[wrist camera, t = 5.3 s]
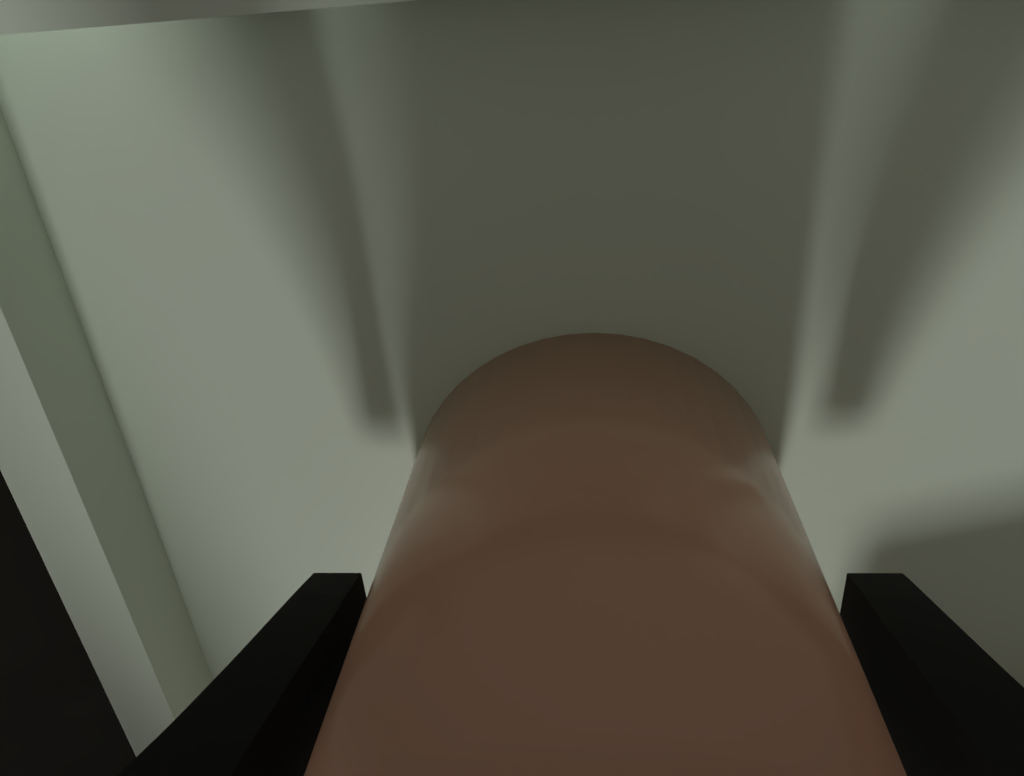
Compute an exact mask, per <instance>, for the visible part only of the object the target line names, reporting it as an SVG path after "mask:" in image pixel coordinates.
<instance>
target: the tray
mask: <svg viewBox="0 0 1024 776" xmlns="http://www.w3.org/2000/svg"><path fill="white" fill-rule="evenodd" d="M583 333H605V334H621V335H626V336H632V337H637V338H643V339H647V340H650V341H654V342H657V343H660V344H663V345H667V346H670V347H672V348H674V349H676V350H679V351H681V352H683V353H685V354H687V355H690V356H692V357H694V358H695V359H697V360H699V361H700V362H702V363H703V364H705V365H707V366H708V367H710V368H711V369H713V370H714V371H716V372H717V373H718V374H719V375H720V376H722V377H723V378H724V379H725V380H726V381H727V382H729V383H730V384H731V385H732V386H733V387H734V388H735V389H736V390H737V391H738V393H739V394H740V395H741V396H742V397H743V398H744V399H745V400H746V402H747V403H748V404H749V406H750V408H751V409H752V411H753V412H754V414H755V415H756V417H757V418H758V420H759V422H760V424H761V426H762V429H763V431H764V433H765V435H766V437H767V440H768V442H769V445H770V447H771V449H772V452H773V454H774V457H775V459H776V461H777V464H778V466H779V469H780V471H781V473H782V476H783V478H784V481H785V483H786V486H787V488H788V490H789V493H790V495H791V498H792V500H793V502H794V505H795V507H796V510H797V512H798V514H799V517H800V519H801V522H802V524H803V526H804V529H805V531H806V534H807V536H808V538H809V541H810V543H811V546H812V548H813V551H814V553H815V555H816V558H817V560H818V563H819V565H820V567H821V570H822V572H823V575H824V577H825V579H826V582H827V584H828V587H829V589H830V591H831V594H832V596H833V599H834V601H835V604H836V606H837V608H838V611H839V613H840V610H841V604H842V599H843V593H844V587H845V582H846V576H847V573H903V574H904V575H905V576H906V577H908V578H909V579H910V580H911V581H912V582H913V583H914V584H915V585H916V586H917V587H918V588H919V589H920V590H921V591H922V592H923V593H924V594H926V595H927V596H928V597H929V598H930V599H931V600H932V601H933V602H934V603H935V604H936V605H937V606H938V607H939V608H940V609H941V610H942V611H943V612H944V613H945V614H946V615H947V616H949V617H950V618H951V619H952V620H953V621H954V622H955V623H956V624H957V625H958V626H959V627H960V628H961V629H962V630H963V631H964V632H965V633H966V634H967V635H968V636H970V637H971V638H972V639H973V640H974V641H975V642H976V643H977V644H978V645H979V646H980V647H981V648H982V649H983V650H984V651H985V652H986V653H987V654H989V655H990V656H991V657H992V658H993V659H994V660H995V661H996V662H997V663H998V664H999V665H1000V666H1001V667H1002V668H1003V669H1004V670H1005V671H1007V672H1008V673H1009V674H1010V675H1011V676H1012V677H1013V678H1014V679H1015V680H1016V681H1017V682H1018V683H1019V684H1021V685H1022V686H1023V687H1024V0H0V471H1V473H2V475H3V477H4V479H5V481H6V483H7V485H8V488H9V490H10V492H11V494H12V496H13V498H14V500H15V502H16V504H17V507H18V509H19V511H20V513H21V515H22V517H23V519H24V521H25V523H26V526H27V528H28V530H29V532H30V534H31V536H32V538H33V540H34V542H35V545H36V547H37V549H38V551H39V553H40V555H41V557H42V559H43V561H44V564H45V566H46V568H47V570H48V572H49V574H50V576H51V578H52V580H53V583H54V585H55V587H56V589H57V591H58V593H59V595H60V597H61V599H62V602H63V604H64V606H65V608H66V610H67V612H68V614H69V616H70V618H71V621H72V623H73V625H74V627H75V629H76V631H77V633H78V635H79V637H80V640H81V642H82V644H83V646H84V648H85V650H86V652H87V654H88V656H89V659H90V661H91V663H92V665H93V667H94V669H95V671H96V673H97V675H98V677H99V680H100V682H101V684H102V686H103V688H104V690H105V692H106V694H107V696H108V699H109V701H110V703H111V705H112V707H113V709H114V711H115V713H116V715H117V718H118V720H119V722H120V724H121V726H122V728H123V730H124V732H125V734H126V737H127V739H128V741H129V743H130V745H131V747H132V749H133V751H134V753H135V756H136V757H137V756H138V755H139V754H140V753H141V752H142V751H143V750H144V749H145V748H146V747H147V746H148V745H149V744H150V743H152V742H153V741H154V740H155V739H156V738H157V737H158V736H159V735H160V734H161V733H162V732H163V731H164V730H165V729H166V728H167V727H168V726H169V725H170V724H171V723H172V722H173V721H174V720H175V719H176V718H177V717H178V716H179V715H180V714H181V713H182V712H183V711H184V710H185V709H186V708H187V707H188V706H189V705H190V704H191V703H192V702H193V700H194V699H195V698H196V697H197V696H198V695H199V694H200V693H201V692H202V691H203V690H204V689H205V688H206V687H207V686H208V685H209V684H210V683H211V682H212V681H213V680H214V679H215V678H216V677H217V676H218V675H219V673H220V672H221V671H222V670H223V669H224V668H225V667H226V666H227V665H228V664H229V663H230V662H231V661H232V660H233V659H234V658H235V657H236V656H237V654H238V653H239V652H240V651H241V650H242V649H243V648H244V647H245V646H246V645H247V644H248V643H249V642H250V641H251V639H252V638H253V637H254V636H255V635H256V634H257V633H258V632H259V631H260V630H261V629H262V628H263V626H264V625H265V624H266V623H267V622H268V621H269V620H270V619H271V618H272V617H273V616H274V614H275V613H276V612H277V611H278V610H279V609H280V608H281V607H282V606H283V605H284V604H285V603H286V601H287V600H288V599H289V598H290V597H291V596H292V595H293V594H294V593H295V592H296V591H297V590H298V589H299V588H300V587H301V586H302V585H303V583H304V582H305V581H306V580H307V579H308V578H309V577H310V576H311V575H312V574H313V573H361V574H362V579H363V583H364V588H365V592H366V597H367V596H368V593H369V590H370V587H371V585H372V582H373V579H374V576H375V573H376V571H377V568H378V565H379V562H380V559H381V556H382V554H383V551H384V548H385V545H386V542H387V539H388V537H389V534H390V531H391V528H392V525H393V523H394V520H395V517H396V514H397V511H398V508H399V506H400V503H401V500H402V497H403V494H404V491H405V489H406V486H407V483H408V480H409V477H410V474H411V472H412V469H413V466H414V463H415V460H416V458H417V455H418V452H419V449H420V446H421V443H422V441H423V438H424V435H425V433H426V431H427V429H428V426H429V424H430V422H431V420H432V418H433V416H434V415H435V413H436V412H437V410H438V409H439V407H440V406H441V404H442V403H443V401H444V400H445V399H446V397H447V396H448V395H449V394H450V393H451V392H452V391H453V390H454V389H455V387H456V386H457V385H458V384H459V383H460V382H462V381H463V380H464V379H465V378H466V377H468V376H469V375H470V374H471V373H472V372H474V371H475V370H476V369H477V368H479V367H481V366H482V365H484V364H485V363H487V362H489V361H490V360H492V359H493V358H495V357H497V356H499V355H501V354H503V353H506V352H508V351H510V350H512V349H514V348H516V347H519V346H522V345H525V344H528V343H532V342H535V341H538V340H541V339H546V338H551V337H556V336H562V335H567V334H583Z"/></svg>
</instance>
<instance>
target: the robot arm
mask: <svg viewBox="0 0 1024 776" xmlns="http://www.w3.org/2000/svg"><path fill="white" fill-rule="evenodd" d="M366 599H367V597H366V592H365V588H364V583H363V579H362V574H361V573H313V574H312V575H311V576H310V577H309V578H308V579H307V580H306V581H305V582H304V583H303V585H302V586H301V587H300V588H299V589H298V590H297V591H296V592H295V593H294V594H293V595H292V596H291V597H290V598H289V599H288V600H287V601H286V603H285V604H284V605H283V606H282V607H281V608H280V609H279V610H278V611H277V612H276V613H275V614H274V616H273V617H272V618H271V619H270V620H269V621H268V622H267V623H266V624H265V625H264V626H263V628H262V629H261V630H260V631H259V632H258V633H257V634H256V635H255V636H254V637H253V638H252V639H251V641H250V642H249V643H248V644H247V645H246V646H245V647H244V648H243V649H242V650H241V651H240V652H239V653H238V654H237V656H236V657H235V658H234V659H233V660H232V661H231V662H230V663H229V664H228V665H227V666H226V667H225V668H224V669H223V670H222V671H221V672H220V673H219V675H218V676H217V677H216V678H215V679H214V680H213V681H212V682H211V683H210V684H209V685H208V686H207V687H206V688H205V689H204V690H203V691H202V692H201V693H200V694H199V695H198V696H197V697H196V698H195V699H194V700H193V702H192V703H191V704H190V705H189V706H188V707H187V708H186V709H185V710H184V711H183V712H182V713H181V714H180V715H179V716H178V717H177V718H176V719H175V720H174V721H173V722H172V723H171V724H170V725H169V726H168V727H167V728H166V729H165V730H164V731H163V732H162V733H161V734H160V735H159V736H158V737H157V738H156V739H155V740H154V741H153V742H152V743H150V744H149V745H148V746H147V747H146V748H145V749H144V750H143V751H142V752H141V753H140V754H139V755H138V756H137V757H136V758H135V759H134V760H133V761H132V762H131V763H130V764H129V765H128V766H127V767H126V768H125V769H123V770H122V771H121V772H120V773H119V774H118V775H117V776H304V774H305V771H306V768H307V765H308V763H309V760H310V757H311V754H312V751H313V748H314V746H315V743H316V740H317V737H318V734H319V731H320V729H321V726H322V723H323V720H324V717H325V715H326V712H327V709H328V706H329V703H330V700H331V698H332V695H333V692H334V689H335V686H336V683H337V681H338V678H339V675H340V672H341V669H342V667H343V664H344V661H345V658H346V655H347V652H348V650H349V647H350V644H351V641H352V638H353V635H354V633H355V630H356V627H357V624H358V621H359V619H360V616H361V613H362V610H363V607H364V604H365V602H366ZM840 616H841V618H842V620H843V623H844V625H845V628H846V630H847V632H848V635H849V637H850V640H851V642H852V644H853V647H854V649H855V652H856V654H857V656H858V659H859V661H860V664H861V666H862V669H863V671H864V673H865V676H866V678H867V681H868V683H869V685H870V688H871V690H872V693H873V695H874V697H875V700H876V702H877V705H878V707H879V709H880V712H881V714H882V717H883V719H884V722H885V724H886V726H887V729H888V731H889V734H890V736H891V738H892V741H893V743H894V746H895V748H896V750H897V753H898V755H899V758H900V760H901V762H902V765H903V767H904V770H905V772H906V774H907V776H1024V687H1023V686H1022V685H1021V684H1019V683H1018V682H1017V681H1016V680H1015V679H1014V678H1013V677H1012V676H1011V675H1010V674H1009V673H1008V672H1007V671H1005V670H1004V669H1003V668H1002V667H1001V666H1000V665H999V664H998V663H997V662H996V661H995V660H994V659H993V658H992V657H991V656H990V655H989V654H987V653H986V652H985V651H984V650H983V649H982V648H981V647H980V646H979V645H978V644H977V643H976V642H975V641H974V640H973V639H972V638H971V637H970V636H968V635H967V634H966V633H965V632H964V631H963V630H962V629H961V628H960V627H959V626H958V625H957V624H956V623H955V622H954V621H953V620H952V619H951V618H950V617H949V616H947V615H946V614H945V613H944V612H943V611H942V610H941V609H940V608H939V607H938V606H937V605H936V604H935V603H934V602H933V601H932V600H931V599H930V598H929V597H928V596H927V595H926V594H924V593H923V592H922V591H921V590H920V589H919V588H918V587H917V586H916V585H915V584H914V583H913V582H912V581H911V580H910V579H909V578H908V577H906V576H905V575H904V574H903V573H847V576H846V582H845V587H844V593H843V599H842V604H841V610H840Z"/></svg>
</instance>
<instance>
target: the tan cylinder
mask: <svg viewBox="0 0 1024 776" xmlns="http://www.w3.org/2000/svg"><path fill="white" fill-rule="evenodd" d="M304 776H907V774H906V772H905V770H904V767H903V765H902V762H901V760H900V758H899V755H898V753H897V750H896V748H895V746H894V743H893V741H892V738H891V736H890V734H889V731H888V729H887V726H886V724H885V722H884V719H883V717H882V714H881V712H880V709H879V707H878V705H877V702H876V700H875V697H874V695H873V693H872V690H871V688H870V685H869V683H868V681H867V678H866V676H865V673H864V671H863V669H862V666H861V664H860V661H859V659H858V656H857V654H856V652H855V649H854V647H853V644H852V642H851V640H850V637H849V635H848V632H847V630H846V628H845V625H844V623H843V620H842V618H841V616H840V613H839V611H838V608H837V606H836V604H835V601H834V599H833V596H832V594H831V591H830V589H829V587H828V584H827V582H826V579H825V577H824V575H823V572H822V570H821V567H820V565H819V563H818V560H817V558H816V555H815V553H814V551H813V548H812V546H811V543H810V541H809V538H808V536H807V534H806V531H805V529H804V526H803V524H802V522H801V519H800V517H799V514H798V512H797V510H796V507H795V505H794V502H793V500H792V498H791V495H790V493H789V490H788V488H787V486H786V483H785V481H784V478H783V476H782V473H781V471H780V469H779V466H778V464H777V461H776V459H775V457H774V454H773V452H772V449H771V447H770V445H769V442H768V440H767V437H766V435H765V433H764V431H763V429H762V426H761V424H760V422H759V420H758V418H757V417H756V415H755V414H754V412H753V411H752V409H751V408H750V406H749V404H748V403H747V402H746V400H745V399H744V398H743V397H742V396H741V395H740V394H739V393H738V391H737V390H736V389H735V388H734V387H733V386H732V385H731V384H730V383H729V382H727V381H726V380H725V379H724V378H723V377H722V376H720V375H719V374H718V373H717V372H716V371H714V370H713V369H711V368H710V367H708V366H707V365H705V364H703V363H702V362H700V361H699V360H697V359H695V358H694V357H692V356H690V355H687V354H685V353H683V352H681V351H679V350H676V349H674V348H672V347H670V346H667V345H663V344H660V343H657V342H654V341H650V340H647V339H643V338H637V337H632V336H626V335H621V334H605V333H583V334H567V335H562V336H556V337H551V338H546V339H541V340H538V341H535V342H532V343H528V344H525V345H522V346H519V347H516V348H514V349H512V350H510V351H508V352H506V353H503V354H501V355H499V356H497V357H495V358H493V359H492V360H490V361H489V362H487V363H485V364H484V365H482V366H481V367H479V368H477V369H476V370H475V371H474V372H472V373H471V374H470V375H469V376H468V377H466V378H465V379H464V380H463V381H462V382H460V383H459V384H458V385H457V386H456V387H455V389H454V390H453V391H452V392H451V393H450V394H449V395H448V396H447V397H446V399H445V400H444V401H443V403H442V404H441V406H440V407H439V409H438V410H437V412H436V413H435V415H434V416H433V418H432V420H431V422H430V424H429V426H428V429H427V431H426V433H425V435H424V438H423V441H422V443H421V446H420V449H419V452H418V455H417V458H416V460H415V463H414V466H413V469H412V472H411V474H410V477H409V480H408V483H407V486H406V489H405V491H404V494H403V497H402V500H401V503H400V506H399V508H398V511H397V514H396V517H395V520H394V523H393V525H392V528H391V531H390V534H389V537H388V539H387V542H386V545H385V548H384V551H383V554H382V556H381V559H380V562H379V565H378V568H377V571H376V573H375V576H374V579H373V582H372V585H371V587H370V590H369V593H368V596H367V599H366V602H365V604H364V607H363V610H362V613H361V616H360V619H359V621H358V624H357V627H356V630H355V633H354V635H353V638H352V641H351V644H350V647H349V650H348V652H347V655H346V658H345V661H344V664H343V667H342V669H341V672H340V675H339V678H338V681H337V683H336V686H335V689H334V692H333V695H332V698H331V700H330V703H329V706H328V709H327V712H326V715H325V717H324V720H323V723H322V726H321V729H320V731H319V734H318V737H317V740H316V743H315V746H314V748H313V751H312V754H311V757H310V760H309V763H308V765H307V768H306V771H305V774H304Z"/></svg>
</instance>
